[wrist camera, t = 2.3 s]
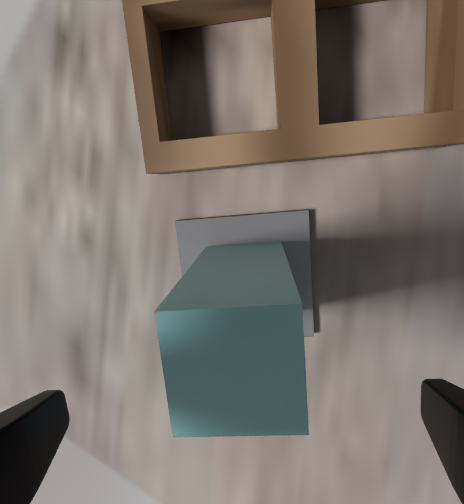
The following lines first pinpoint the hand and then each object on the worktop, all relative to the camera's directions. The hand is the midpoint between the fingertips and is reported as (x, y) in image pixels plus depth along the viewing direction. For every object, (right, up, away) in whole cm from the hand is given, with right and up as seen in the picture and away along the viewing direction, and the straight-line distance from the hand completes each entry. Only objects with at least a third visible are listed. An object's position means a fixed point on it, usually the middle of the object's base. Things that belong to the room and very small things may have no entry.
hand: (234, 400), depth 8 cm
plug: (+1, +2, +10) cm, 10 cm away
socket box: (+3, +12, +8) cm, 15 cm away
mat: (+1, +2, +10) cm, 11 cm away
